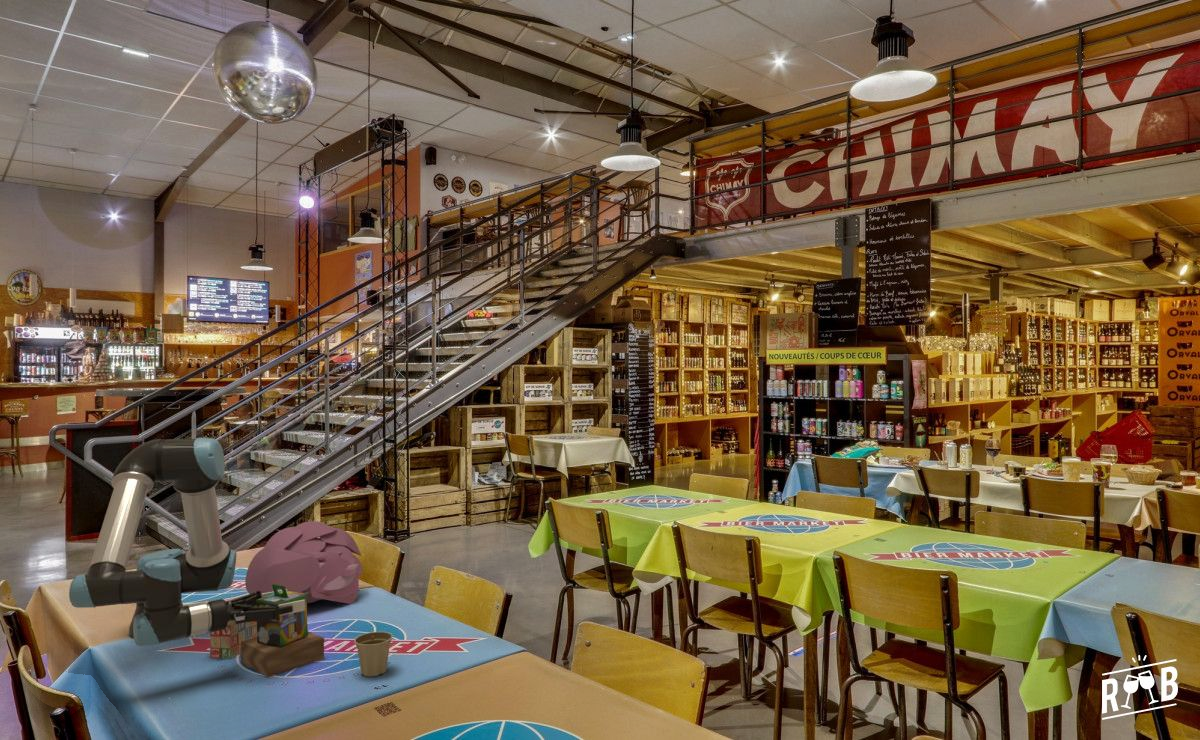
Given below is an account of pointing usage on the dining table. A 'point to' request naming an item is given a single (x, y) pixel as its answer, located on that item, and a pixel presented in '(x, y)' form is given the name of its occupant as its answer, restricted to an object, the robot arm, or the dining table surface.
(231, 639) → the stack of blocks
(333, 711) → the dining table surface
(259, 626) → the chalk box
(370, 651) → the flower pot
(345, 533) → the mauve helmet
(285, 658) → the walnut base block
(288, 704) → the dining table surface
